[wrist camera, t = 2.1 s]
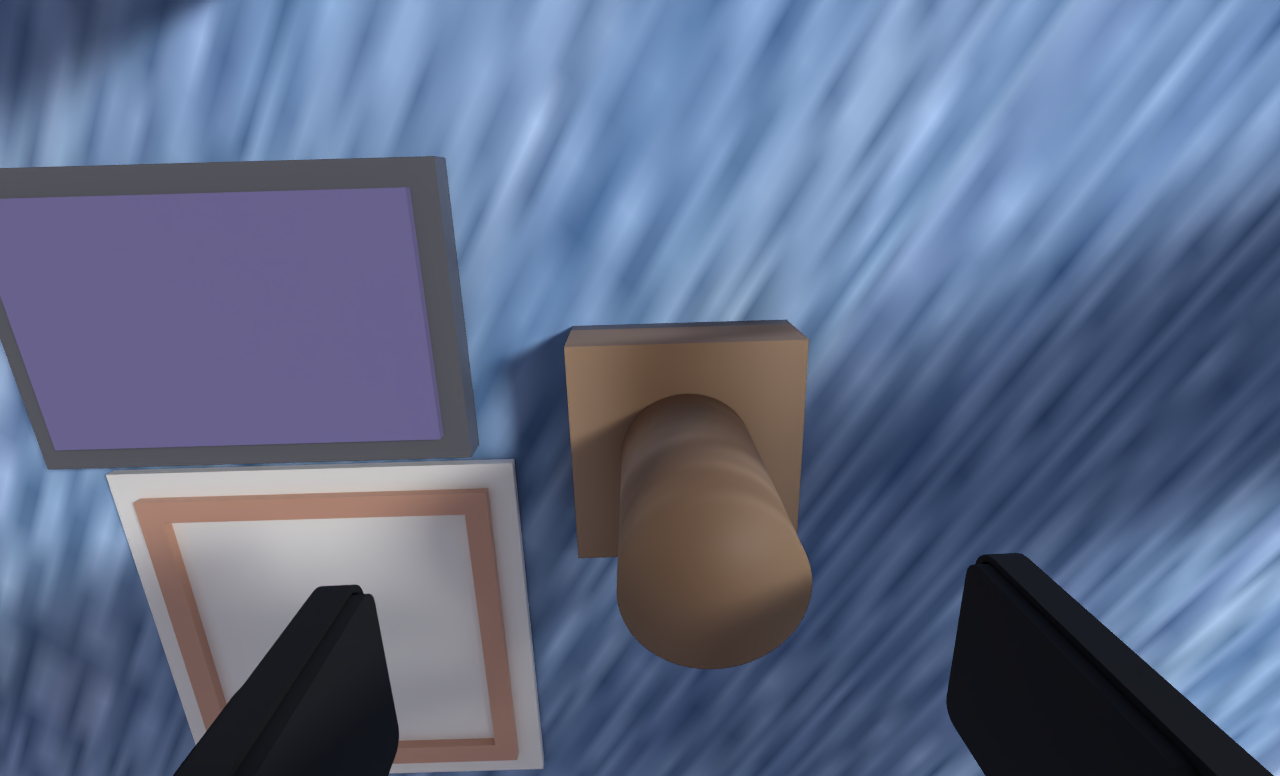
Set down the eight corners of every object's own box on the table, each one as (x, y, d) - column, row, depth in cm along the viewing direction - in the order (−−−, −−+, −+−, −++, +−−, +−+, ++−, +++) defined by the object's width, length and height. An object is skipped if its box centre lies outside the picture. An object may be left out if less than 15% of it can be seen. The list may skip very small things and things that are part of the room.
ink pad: (445, 157, 16) (430, 155, 15) (479, 444, 18) (468, 461, 17) (-24, 170, 16) (-76, 169, 15) (75, 456, 18) (38, 474, 17)
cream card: (514, 458, 18) (510, 467, 18) (544, 761, 22) (542, 776, 22) (113, 470, 18) (97, 479, 18) (212, 771, 22) (201, 786, 22)
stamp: (785, 319, 17) (905, 424, 10) (776, 507, 19) (870, 719, 12) (572, 325, 17) (526, 436, 10) (584, 513, 19) (554, 729, 12)
